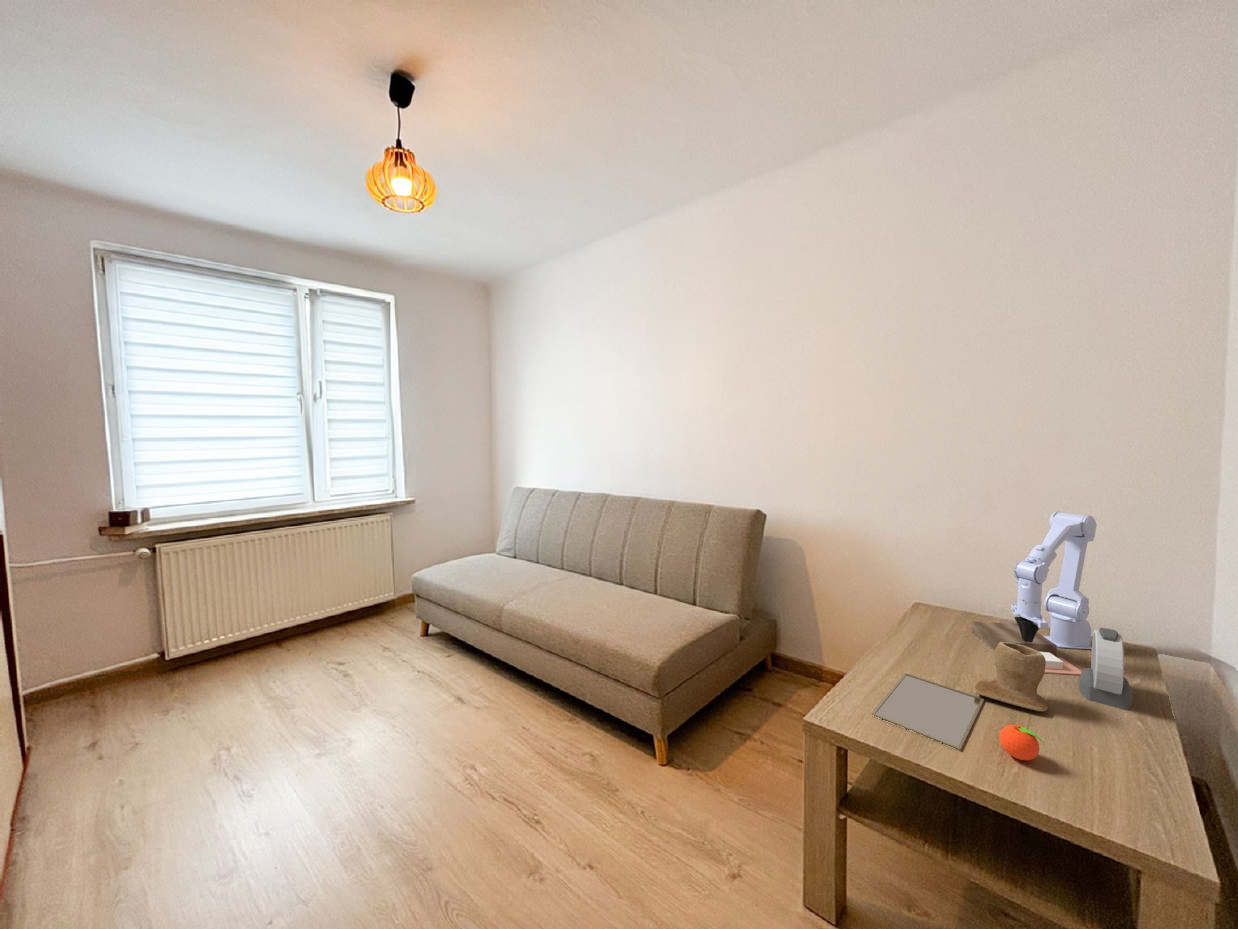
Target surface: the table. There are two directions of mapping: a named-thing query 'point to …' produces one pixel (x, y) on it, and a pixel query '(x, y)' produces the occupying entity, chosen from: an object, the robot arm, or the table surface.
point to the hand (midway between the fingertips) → (1027, 641)
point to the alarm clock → (1106, 672)
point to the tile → (1052, 661)
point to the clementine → (1019, 742)
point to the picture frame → (930, 710)
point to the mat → (1065, 669)
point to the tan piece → (1016, 677)
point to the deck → (1009, 636)
